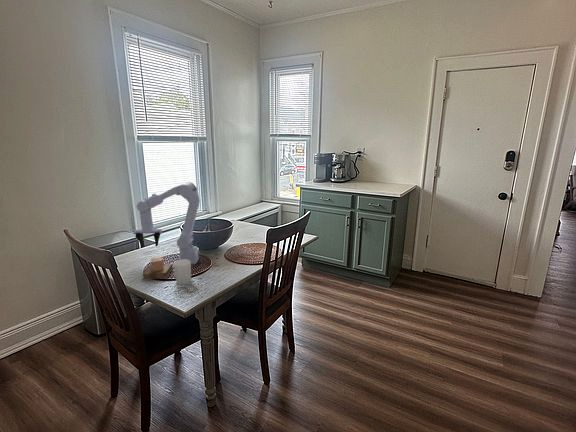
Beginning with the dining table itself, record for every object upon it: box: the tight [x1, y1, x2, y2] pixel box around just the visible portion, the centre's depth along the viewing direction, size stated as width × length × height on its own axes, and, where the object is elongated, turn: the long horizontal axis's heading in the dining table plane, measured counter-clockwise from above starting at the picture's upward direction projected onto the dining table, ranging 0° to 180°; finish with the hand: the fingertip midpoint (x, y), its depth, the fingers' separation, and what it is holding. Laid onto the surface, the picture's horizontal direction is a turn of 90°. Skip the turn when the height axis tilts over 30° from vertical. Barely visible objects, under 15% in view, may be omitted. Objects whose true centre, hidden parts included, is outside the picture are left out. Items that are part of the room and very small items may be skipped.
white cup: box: [172, 259, 192, 286], centre depth 151 cm, size 8×8×10 cm
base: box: [142, 263, 174, 280], centre depth 161 cm, size 11×11×3 cm
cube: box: [150, 256, 164, 271], centre depth 160 cm, size 5×5×5 cm
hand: (149, 245), depth 174 cm, fingers open, 7 cm apart
